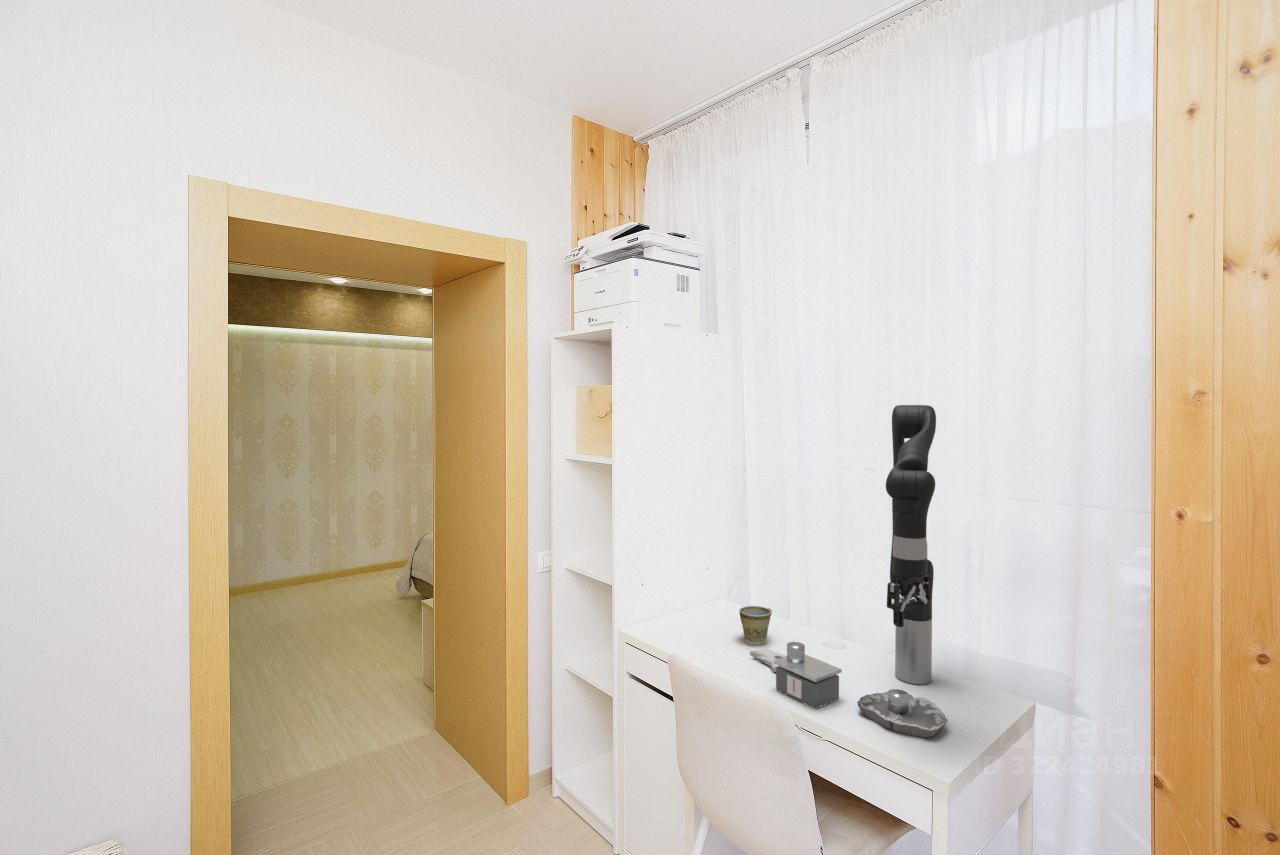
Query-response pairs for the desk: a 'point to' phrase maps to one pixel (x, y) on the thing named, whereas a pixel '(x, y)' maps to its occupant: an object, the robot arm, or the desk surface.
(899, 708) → the cylinder
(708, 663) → the desk surface
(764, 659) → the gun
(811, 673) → the pan
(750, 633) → the ceramic cup
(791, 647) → the cylinder
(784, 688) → the scale
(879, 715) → the brain slice
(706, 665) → the desk surface
